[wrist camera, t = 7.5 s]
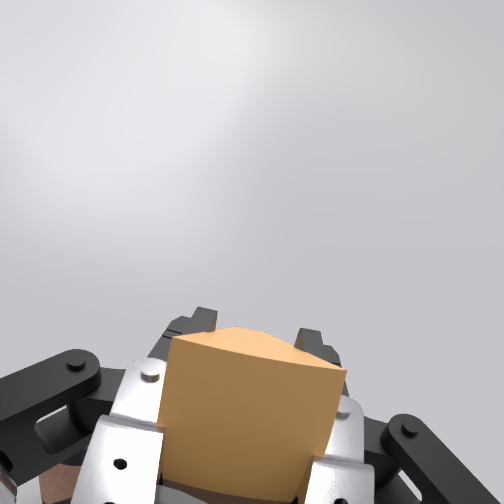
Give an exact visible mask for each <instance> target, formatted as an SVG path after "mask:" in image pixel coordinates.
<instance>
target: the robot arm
mask: <svg viewBox="0 0 504 504" xmlns="http://www.w3.org/2000/svg"><path fill="white" fill-rule="evenodd" d="M216 320H217V311H215V310H211V309H207V308H202V307H197V309H196V310H195V312H194V314H193V316H192V317H191V318H188V317H184V316H180V317H178V318H177V319H175V320H173V321H171V323H170V324H169V326H168V327H167V329H166V330H165V332H164V333H163V334H162V337H160V339H159V340H158V342H157V343H156V345H155V346H154V348H153V349H152V351H151V352H150V354H149V355H148V357H147V358H141V359H137V360H135V361H133V362H132V363H130V364H129V365H128V367H127V369H110V368H102V367H100V364H99V360H98V358H97V357H96V356H95V355H94V354H93V353H91V352H89V351H86V350H81V349H72V350H68V351H65V352H62V353H60V354H58V355H55V356H53V357H51V358H48V359H46V360H44V361H41V362H39V363H37V364H34V365H32V366H29V367H27V368H24V369H22V370H20V371H17V372H15V373H12V374H10V375H8V376H5V377H3V378H0V504H15V503H16V495H17V487H18V486H20V485H22V484H24V483H26V482H27V481H29V480H31V479H33V478H35V477H37V476H38V475H40V474H42V473H44V472H46V471H47V470H49V469H51V468H53V467H54V466H56V465H58V464H59V463H61V462H63V461H65V460H66V459H68V458H70V457H71V456H73V455H75V454H76V453H78V452H80V451H81V450H83V449H84V448H86V447H88V446H89V447H88V450H87V453H86V456H85V458H84V461H83V464H82V468H81V471H80V474H79V477H78V480H77V483H76V487H75V490H74V493H73V497H71V498H68V499H65V500H62V501H58V502H55V503H52V504H208V503H205V502H203V501H201V500H199V499H197V498H194V497H192V496H190V495H188V494H186V493H184V492H182V491H178V490H175V489H171V488H168V480H166V479H163V460H164V437H165V427H161V426H156V421H157V415H158V409H159V403H160V397H161V391H162V386H163V380H164V375H165V370H166V365H167V360H168V355H169V350H170V345H171V340H172V337H175V336H181V335H188V334H195V333H201V332H206V333H208V332H213V331H215V326H216ZM294 347H295V348H297V349H299V350H301V351H303V352H307V353H309V354H312V355H314V356H316V357H318V358H320V359H322V360H325V361H327V362H329V363H331V364H334V365H336V366H338V367H340V368H342V367H341V363H340V359H339V355H338V354H337V352H336V351H335V350H334V349H333V348H332V346H328V345H323V342H322V337H321V332H320V331H316V330H310V329H305V328H300V330H299V332H298V335H297V339H296V342H295V345H294ZM65 405H66V408H65V409H63V410H61V411H59V412H57V413H56V414H53V415H51V416H50V417H48V418H46V419H44V420H42V421H40V422H38V423H36V422H37V421H38V420H39V419H40V418H42V417H44V416H46V415H47V414H49V413H51V412H53V411H55V410H57V409H59V408H61V407H63V406H65ZM401 470H403V471H404V472H405V473H406V475H407V476H408V477H409V478H410V480H411V481H412V482H413V483H414V484H415V486H416V487H417V488H418V489H419V491H420V492H421V495H422V501H420V500H418V499H417V497H416V496H415V495H414V494H413V492H412V491H411V490H410V489H409V487H408V486H407V485H406V484H405V482H404V481H403V480H402V479H401V477H400V476H399V475H398V473H399V472H400V471H401ZM278 504H500V503H499V502H498V501H497V499H496V498H495V497H494V496H493V495H492V494H491V493H490V492H489V491H488V490H487V489H486V488H485V487H484V486H483V485H482V484H481V482H480V481H479V480H478V479H477V478H476V477H475V476H474V475H473V474H472V473H471V472H470V471H469V470H468V469H467V468H466V467H465V466H464V465H463V463H462V462H461V461H459V459H458V458H457V457H456V456H455V455H454V454H453V453H452V452H451V451H450V450H449V449H448V448H447V447H446V446H445V445H444V444H443V443H442V442H441V440H440V439H439V438H438V437H437V436H436V435H435V434H434V433H433V432H432V431H431V430H430V429H429V428H428V427H427V426H426V425H425V424H424V423H423V422H422V421H421V420H420V419H418V418H417V417H415V416H412V415H409V414H398V415H395V416H393V417H392V418H391V420H390V421H389V422H388V423H384V422H381V421H377V420H373V419H370V418H368V417H365V416H364V414H363V410H362V408H361V406H360V405H359V404H358V403H357V402H356V401H354V400H353V399H351V398H350V397H349V394H348V390H347V386H346V382H344V386H343V390H342V394H341V399H340V403H339V406H338V410H337V414H336V418H335V422H334V425H333V429H332V432H331V436H330V439H329V442H328V446H327V449H326V452H325V455H324V457H321V456H316V455H312V457H311V460H310V462H309V464H308V467H307V469H306V471H305V473H304V476H303V478H302V480H301V482H300V484H299V486H298V489H297V491H296V493H295V495H294V497H293V499H292V501H291V502H282V501H279V503H278Z"/></svg>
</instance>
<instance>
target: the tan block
mask: <svg viewBox="0 0 504 504" xmlns="http://www.w3.org/2000/svg"><path fill="white" fill-rule="evenodd" d="M346 373H347V370H345V369H343V368H340V367H338V366H336V365H334V364H331V363H329V362H327V361H325V360H322V359H320V358H318V357H316V356H314V355H312V354H309V353H307V352H303V351H301V350H299V349H297V348H295V347H294V346H292V345H290V344H288V343H286V342H284V341H282V340H280V339H278V338H276V337H274V336H272V335H270V334H268V333H265V332H260V331H255V330H250V329H245V328H240V327H230V328H225V329H219V330H215V331H213V332H208V333H206V332H201V333H195V334H188V335H181V336H175V337H172V340H171V345H170V350H169V355H168V360H167V365H166V370H165V375H164V380H163V386H162V391H161V397H160V403H159V409H158V415H157V421H156V426H161V427H165V437H164V460H163V479H166V480H170V481H173V482H177V483H180V484H184V485H188V486H191V487H196V488H200V489H204V490H208V491H213V492H218V493H223V494H228V495H234V496H240V497H247V498H254V499H262V500H271V501H282V502H291V501H292V499H293V497H294V495H295V493H296V491H297V489H298V486H299V484H300V482H301V480H302V478H303V476H304V473H305V471H306V469H307V467H308V464H309V462H310V460H311V457H312V455H316V456H321V457H324V455H325V452H326V449H327V446H328V442H329V439H330V436H331V432H332V429H333V425H334V422H335V418H336V414H337V410H338V406H339V403H340V399H341V394H342V390H343V386H344V382H345V377H346Z"/></svg>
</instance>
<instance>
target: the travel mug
mask: <svg viewBox="0 0 504 504" xmlns="http://www.w3.org/2000/svg"><path fill="white" fill-rule="evenodd" d="M88 447H89V446H88ZM88 447H86V448H84V449H83V450H81V451H80V452H78V453H76V454H75V455H73V456H71V457H70V458H68V459H66V460H65V461H63V462H61V463H59V464H58V465H56V466H54V467H53V468H51V469H49V470H47V471H46V472H44V473H42V474H40V475H39V483H40V492H41V498H42V503H43V504H52V503H55V502H58V501H62V500H65V499H68V498H71V497H73V493H74V490H75V487H76V483H77V480H78V477H79V474H80V471H81V468H82V464H83V461H84V458H85V456H86V453H87V450H88Z"/></svg>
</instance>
